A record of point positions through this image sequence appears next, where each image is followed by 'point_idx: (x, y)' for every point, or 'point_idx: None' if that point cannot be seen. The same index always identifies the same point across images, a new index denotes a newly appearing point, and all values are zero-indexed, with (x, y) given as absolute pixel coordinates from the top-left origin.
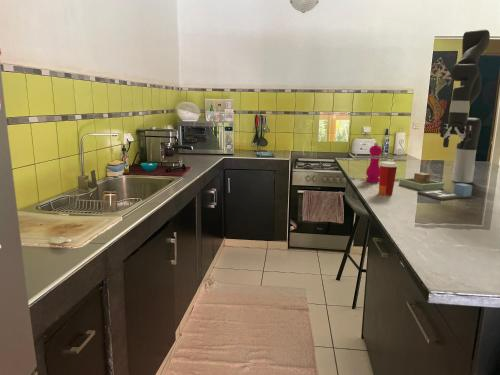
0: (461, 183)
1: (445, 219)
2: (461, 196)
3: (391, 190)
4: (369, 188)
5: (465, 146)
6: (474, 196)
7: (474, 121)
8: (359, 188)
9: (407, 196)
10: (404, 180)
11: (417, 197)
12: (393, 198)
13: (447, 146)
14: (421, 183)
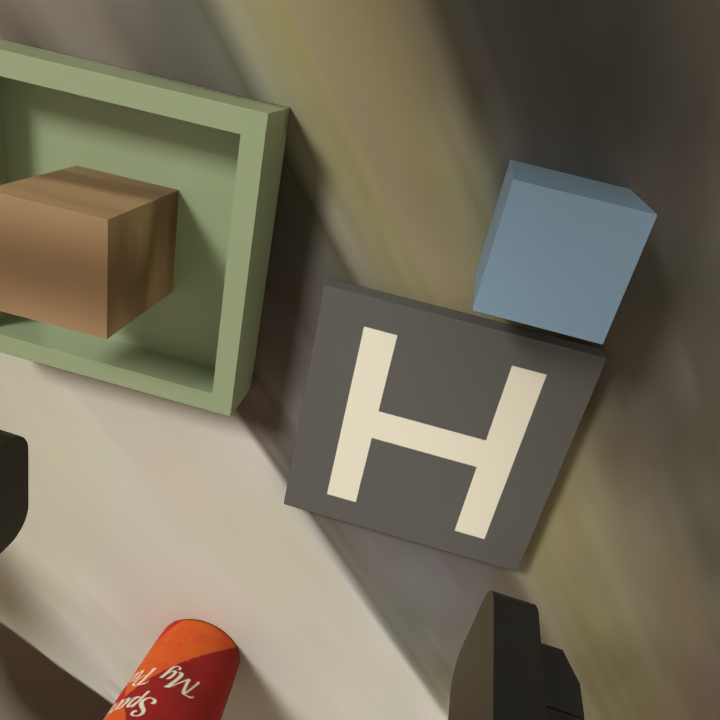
0: (514, 214)
1: None
2: (597, 379)
3: (230, 685)
4: (46, 592)
5: (579, 707)
6: (663, 163)
7: None
8: (29, 633)
9: (312, 615)
10: (24, 358)
11: (364, 595)
12: (303, 708)
13: (13, 463)
14: (151, 303)
